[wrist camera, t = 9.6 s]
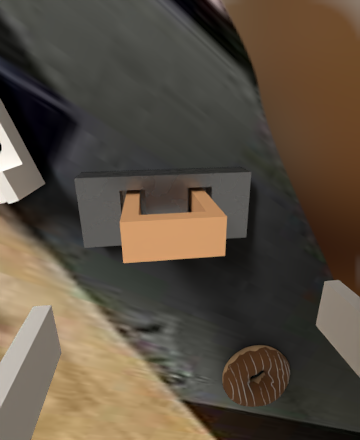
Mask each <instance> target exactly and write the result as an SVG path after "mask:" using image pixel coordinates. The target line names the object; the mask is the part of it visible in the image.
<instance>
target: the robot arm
mask: <svg viewBox="0 0 360 440" xmlns="http://www.w3.org/2000/svg"><path fill="white" fill-rule="evenodd" d="M316 326H317V327H318V329H319V330H320V331H321V332H322V333H323V334H324V336H325V337H326V338H327V339H328V340H329V342H330V343H331V344H332V345H333V346H334V348H335V349H336V350H337V351H338V352H339V354H340V355H341V356H342V357H343V358H344V359H345V361H346V362H347V363H348V364H349V365H350V367H351V368H352V369H353V370H354V371H355V373H356V374H357V375H358V376H359V377H360V297H359V296H358V295H356V294H355V293H354V292H353V291H352V290H350V289H349V288H348V287H347V286H345V285H344V284H343V283H342V282H341V281H339V280H333V281H325V282H324V287H323V292H322V297H321V302H320V307H319V312H318V317H317V322H316ZM60 355H61V348H60V344H59V339H58V334H57V330H56V325H55V320H54V316H53V311H52V306H51V305H46V306H34V307H33V308H32V309H31V311H30V313H29V315H28V316H27V318H26V320H25V321H24V323H23V325H22V327H21V328H20V330H19V332H18V333H17V335H16V337H15V338H14V340H13V342H12V344H11V345H10V347H9V349H8V350H7V352H6V354H5V355H4V357H3V359H2V361H1V362H0V440H31V438H32V435H33V432H34V429H35V426H36V423H37V420H38V418H39V415H40V412H41V409H42V406H43V403H44V401H45V398H46V395H47V392H48V389H49V386H50V383H51V381H52V378H53V375H54V372H55V369H56V366H57V363H58V361H59V358H60Z"/></svg>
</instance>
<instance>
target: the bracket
mask: <svg viewBox="0 0 360 440" xmlns="http://www.w3.org/2000/svg"><path fill="white" fill-rule="evenodd" d="M0 143H1V146H2V150H1V151H0V204H1V203H5V202H8V204H11V203H13V202H16V201H19V200H21V199H22V198H24V197H25V196H27V195H28V194H30V193H32V192H33V191H35V190H36V189H38V188H39V187H41V186H43V185H44V184H45V182H44V180H43V178H42V176H41V174H40V172H39V171H38V169H37V167H36V165H35V163H34V161H33V159H32V157H31V155H30V154H29V152H28V150H27V148H26V146H25V144H24V142H23V140H22V139H21V137H20V135H19V133H18V131H17V129H16V127H15V125H14V123H13V122H12V120H11V118H10V116H9V114H8V112H7V110H6V108H5V106H4V105H3V103H2V101H1V99H0Z"/></svg>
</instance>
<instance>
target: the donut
mask: <svg viewBox="0 0 360 440" xmlns="http://www.w3.org/2000/svg"><path fill="white" fill-rule="evenodd" d="M260 371H264V372H263V373H262V374H261V375H259V376H257V377H256V378H252V379H250V377H252V376H253V375H256V374H258V373H259V372H260ZM289 377H290V366H289V363H288V361H287V359H286V358H285V356H283V355H282V354H281V353H280V352H279V351H278V350H276V349H274V348H272V347H269V346H265V345H253V346H249V347H246V348H244V349H241V350H240V351H238V352H237V353H235V354H234V355H233V356H232V357H231V358H230V359H229V361H228V362H227V364H226V365H225V368H224V371H223V388H224V390H225V392H226V393H227V395H228V397H229V398H230V399H231V400H232V401H234V402H236V403H238V404H240V405H243V406H250V407H256V406H263V405H267V404H270V403H272V402H273V401H276V399H278V398H279V397H280V396H281V394H282V393H283V392H284V390H285V389H286V387H287V385H288V382H289Z"/></svg>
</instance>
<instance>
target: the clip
mask: <svg viewBox="0 0 360 440" xmlns="http://www.w3.org/2000/svg"><path fill="white" fill-rule="evenodd" d="M226 229H227V216H226V215H225V214H224V212H223V211H222V210H221V209H220V208H219V207H218V206H217V204H216V203H215V202H214V201H213V200H212V199H211V198H210V196H209V195H208V194H207V193H206V192H205V191H204V190H203V188H202V187H193V188H189V212H187V213H168V214H149V215H141V200H140V190H127V193H126V197H125V201H124V206H123V210H122V214H121V219H120V232H121V242H122V253H123V263H132V262H146V261H160V260H174V259H188V258H202V257H216V256H225V249H226Z"/></svg>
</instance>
